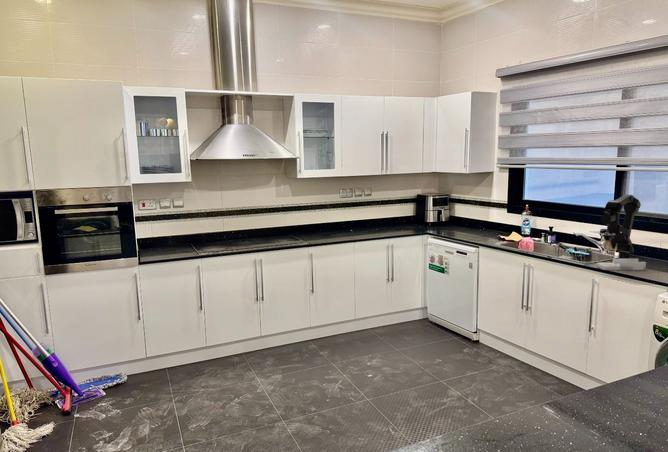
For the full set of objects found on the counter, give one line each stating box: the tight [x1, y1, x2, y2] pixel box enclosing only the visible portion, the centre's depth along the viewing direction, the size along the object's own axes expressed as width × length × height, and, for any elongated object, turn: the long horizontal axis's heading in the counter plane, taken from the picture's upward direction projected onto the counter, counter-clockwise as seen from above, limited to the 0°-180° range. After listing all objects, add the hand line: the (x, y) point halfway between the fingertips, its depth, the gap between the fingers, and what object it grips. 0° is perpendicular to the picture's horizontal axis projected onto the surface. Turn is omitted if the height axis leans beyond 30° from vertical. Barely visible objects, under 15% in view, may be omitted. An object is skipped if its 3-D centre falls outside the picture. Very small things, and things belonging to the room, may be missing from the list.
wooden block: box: [603, 240, 617, 251], centre depth 271 cm, size 5×5×5 cm
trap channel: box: [596, 258, 647, 271], centre depth 271 cm, size 9×23×4 cm, turn 84°
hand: (611, 247), depth 271 cm, fingers closed on wooden block, 5 cm apart
